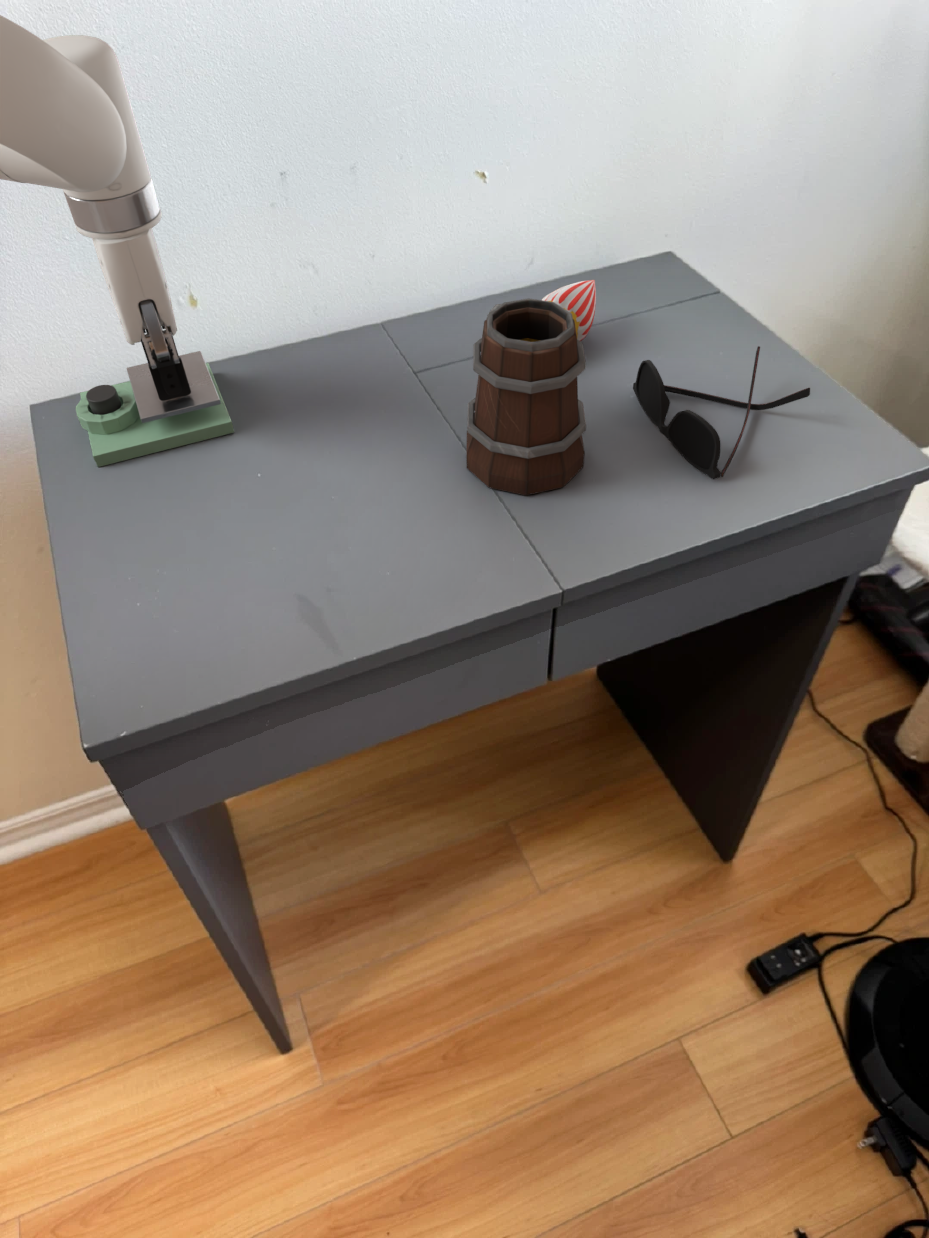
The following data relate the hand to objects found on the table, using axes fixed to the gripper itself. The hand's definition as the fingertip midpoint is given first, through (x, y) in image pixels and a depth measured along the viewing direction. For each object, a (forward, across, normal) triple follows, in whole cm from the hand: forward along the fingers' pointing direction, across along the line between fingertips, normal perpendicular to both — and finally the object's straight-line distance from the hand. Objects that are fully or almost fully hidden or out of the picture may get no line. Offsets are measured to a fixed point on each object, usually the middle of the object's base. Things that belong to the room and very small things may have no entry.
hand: (170, 380), depth 91 cm
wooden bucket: (+4, +20, +31) cm, 37 cm away
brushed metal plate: (+1, 0, 0) cm, 1 cm away
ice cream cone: (+4, +6, +41) cm, 41 cm away
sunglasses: (+4, +25, +52) cm, 57 cm away
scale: (+4, 0, -2) cm, 5 cm away
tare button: (+1, 0, -7) cm, 7 cm away
